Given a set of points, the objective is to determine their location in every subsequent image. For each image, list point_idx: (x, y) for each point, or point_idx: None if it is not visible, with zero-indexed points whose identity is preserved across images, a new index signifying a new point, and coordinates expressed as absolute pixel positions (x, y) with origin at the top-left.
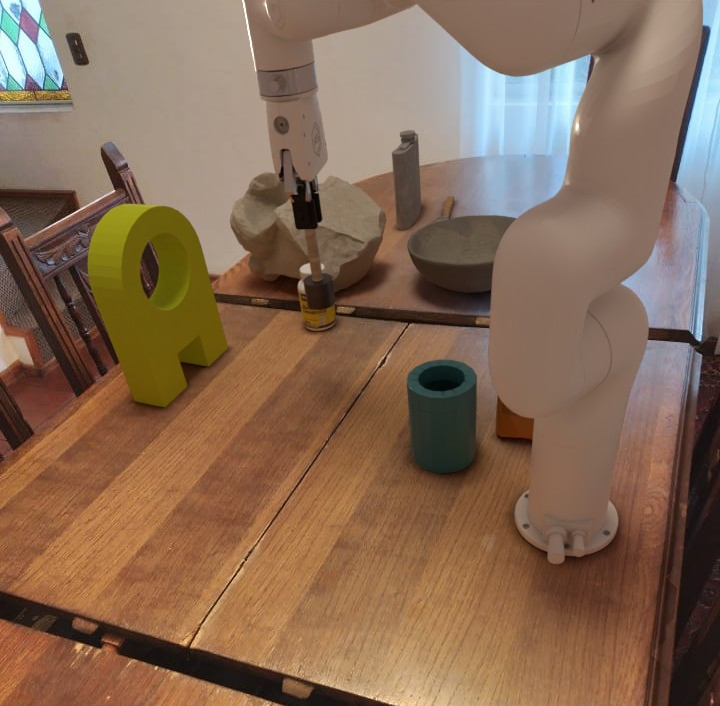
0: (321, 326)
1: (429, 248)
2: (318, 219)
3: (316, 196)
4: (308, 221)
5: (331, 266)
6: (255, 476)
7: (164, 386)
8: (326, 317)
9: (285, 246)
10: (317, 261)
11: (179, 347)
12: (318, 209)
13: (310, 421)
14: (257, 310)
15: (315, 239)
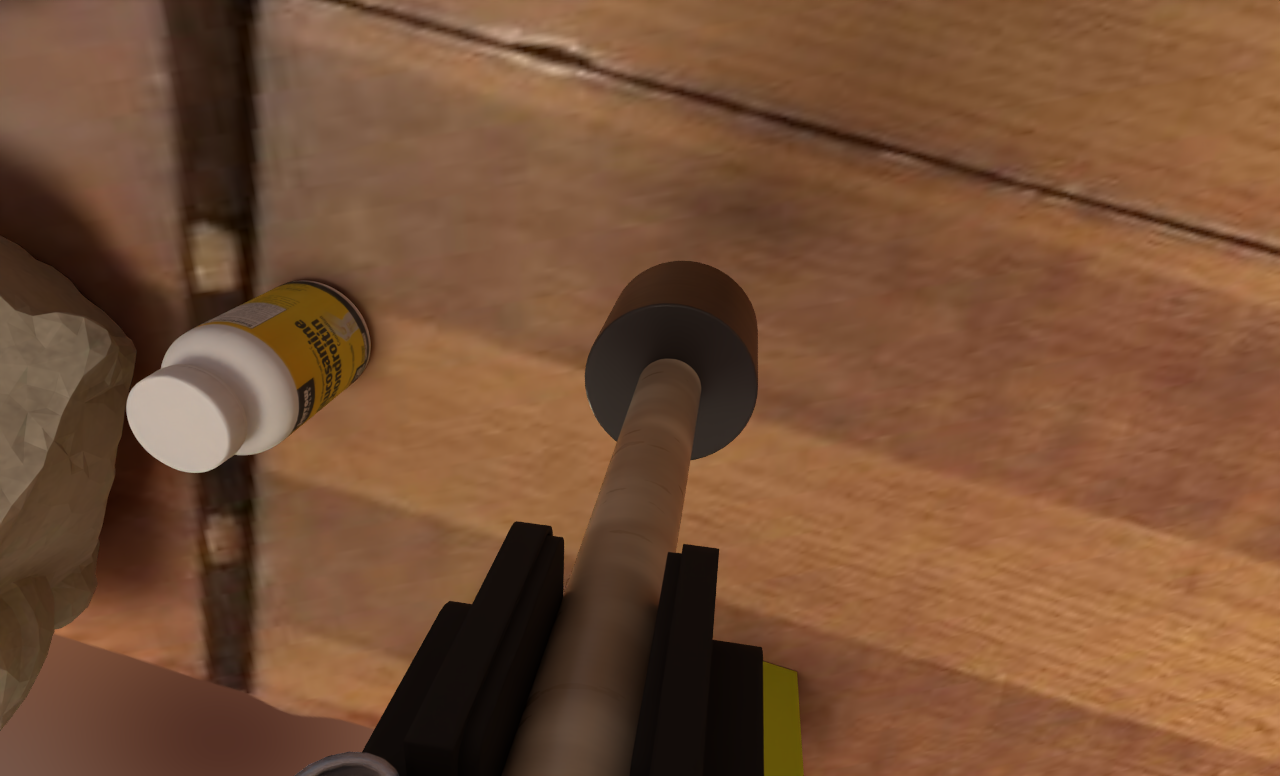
0: (359, 324)
1: None
2: (558, 560)
3: (477, 746)
4: (759, 665)
5: (47, 349)
6: (1185, 385)
7: (775, 707)
8: (330, 314)
9: (16, 550)
10: (680, 424)
11: None
12: (532, 619)
13: (915, 268)
14: (274, 537)
15: (651, 503)
